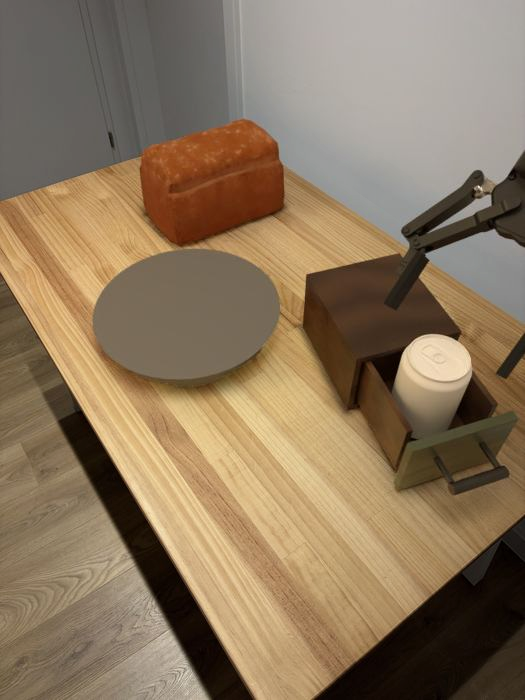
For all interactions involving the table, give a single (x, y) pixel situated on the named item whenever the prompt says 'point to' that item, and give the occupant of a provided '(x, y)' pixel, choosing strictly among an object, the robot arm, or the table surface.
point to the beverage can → (431, 383)
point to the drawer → (440, 449)
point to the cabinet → (366, 318)
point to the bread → (211, 180)
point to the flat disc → (186, 316)
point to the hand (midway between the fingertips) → (441, 340)
